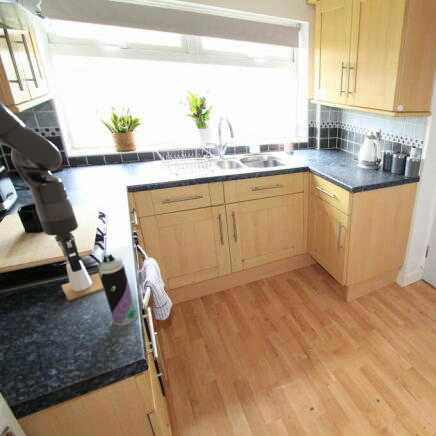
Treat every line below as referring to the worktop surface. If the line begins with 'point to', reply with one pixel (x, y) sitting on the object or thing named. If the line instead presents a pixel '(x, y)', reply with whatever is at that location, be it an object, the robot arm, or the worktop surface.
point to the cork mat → (74, 295)
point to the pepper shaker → (78, 277)
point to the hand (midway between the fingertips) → (73, 264)
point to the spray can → (117, 290)
